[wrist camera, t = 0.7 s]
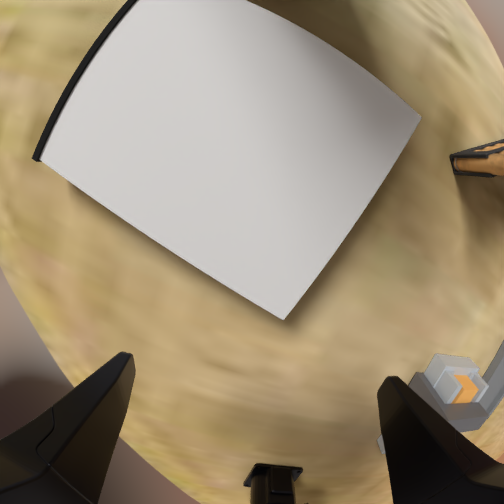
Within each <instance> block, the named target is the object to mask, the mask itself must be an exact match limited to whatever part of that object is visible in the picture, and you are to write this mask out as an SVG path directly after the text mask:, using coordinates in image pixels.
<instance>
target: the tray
mask: <svg viewBox="0 0 504 504" xmlns="http://www.w3.org/2000/svg"><path fill="white" fill-rule="evenodd" d="M482 379H483V380H484V381H485V382H486V383H487V384H488V385H489V387H488V389H487V390H486V392H485V393H484V395H483V396H482V398H481V399H480V400H479V403H480V404H481V406H482V407H483V408H484V409H485V411H486V412H487V413H488V415H489V416H490V415H491V414H492V412H493V411H494V410H495V408H496V407H497V406H498V404H499V403H500V401H501V400H502V398H503V397H504V341H503V343H502V345H501V346H500V348H499V350H498V352H497V354H496V356H495V357H494V359H493V361H492V363H491V364H490V366H489V368H488V369H487V371H486V373H485V374H484V376H483V377H482ZM470 403H472V402H470ZM488 418H489V417H488ZM488 418H487V419H488Z"/></svg>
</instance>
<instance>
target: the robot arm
mask: <svg viewBox="0 0 504 504" xmlns="http://www.w3.org/2000/svg"><path fill="white" fill-rule="evenodd" d="M135 373H136V370H135V364H134V358H133V355H132V354H131V353H127V352H120V353H118V354H117V355H116V356H114V357H113V358H112V359H111V360H109V361H108V362H107V363H106V364H104V365H103V366H102V367H100V368H99V369H98V370H97V371H95V372H94V373H93V374H92V375H90V376H89V377H88V378H86V379H85V380H84V381H83V382H81V383H80V384H79V385H78V386H76V387H75V388H74V389H73V390H71V391H70V392H69V393H68V394H66V395H65V396H64V397H63V398H61V399H60V400H59V401H57V402H56V403H55V404H54V405H53V406H52V407H50V408H48V409H47V410H46V411H45V412H43V413H42V414H41V415H39V416H38V417H36V418H35V419H34V420H32V421H31V422H29V423H28V424H26V425H25V426H23V427H21V428H20V429H18V430H16V431H15V432H13V433H11V434H10V435H8V436H6V437H4V438H3V439H1V440H0V504H98V500H99V497H100V493H101V490H102V487H103V483H104V480H105V477H106V473H107V470H108V467H109V464H110V461H111V458H112V454H113V451H114V448H115V445H116V442H117V439H118V436H119V433H120V431H121V428H122V425H123V422H124V419H125V416H126V413H127V409H128V404H129V400H130V395H131V391H132V387H133V382H134V378H135ZM377 398H378V407H379V417H380V426H381V433H382V438H383V443H384V448H385V454H386V459H387V465H388V471H389V477H390V483H391V490H392V497H393V504H504V464H502V463H499V462H497V461H495V460H494V459H493V458H491V457H490V456H489V455H487V454H486V453H484V452H483V451H482V450H480V449H479V448H478V447H476V446H475V445H474V444H473V443H471V442H470V441H469V440H468V439H467V438H465V437H464V436H463V435H462V434H461V433H460V432H459V431H458V430H456V429H455V428H454V427H453V426H452V425H451V424H450V423H449V422H448V421H447V420H445V419H444V418H443V417H442V416H441V415H440V414H439V413H438V412H437V411H436V410H434V409H433V408H432V407H431V406H430V405H429V404H428V403H427V402H426V401H425V400H423V399H422V398H421V397H420V396H419V395H418V394H417V393H416V392H415V391H413V390H412V389H411V388H410V387H409V386H408V385H407V384H406V383H405V382H403V381H402V380H401V379H400V378H399V377H398V376H388V377H387V378H386V379H385V380H384V382H383V383H382V385H381V386H380V388H379V390H378V393H377ZM302 472H303V470H302V468H296V467H284V466H274V465H266V464H255V465H254V467H253V468H252V470H251V472H250V473H249V475H248V477H247V478H246V480H245V481H244V486H246V487H251V500H250V504H296V499H295V489H294V481H295V480H296V479H297V478H298V477H299V476H300V474H301V473H302ZM306 504H308V503H306Z"/></svg>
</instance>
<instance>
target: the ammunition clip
mask: <svg viewBox="0 0 504 504" xmlns="http://www.w3.org/2000/svg"><path fill="white" fill-rule="evenodd" d="M450 158H451V162H452V166H453V171H454V174H455V175H467V176H480V177H490V178H492V177H495V176H497V175H501V176H504V139H502V140H499V141H495V142H492V143H488V144H485V145H481V146H478V147H474V148H471V149H467V150H464V151H461V152H457V153H454V154H450Z"/></svg>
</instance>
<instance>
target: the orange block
mask: <svg viewBox="0 0 504 504" xmlns="http://www.w3.org/2000/svg"><path fill="white" fill-rule="evenodd" d="M454 376H455V377H456V379H457V380H458V381H459V382H460V383H461V385H462V386H463V387H462V388H461V390H460V391H459V393H458V394H457V396H456V397H455V399H454V400H453V401H452V403H451V404H456V403H470V402H471V400H472V399H473V397H474V396H475V395H476V393H477V392H478V390H479V389H478V388H477V387H476V386H475V384H474V383H473V382H472V381H471V380H470V378H469V377H468V376H467V375H454Z"/></svg>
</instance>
